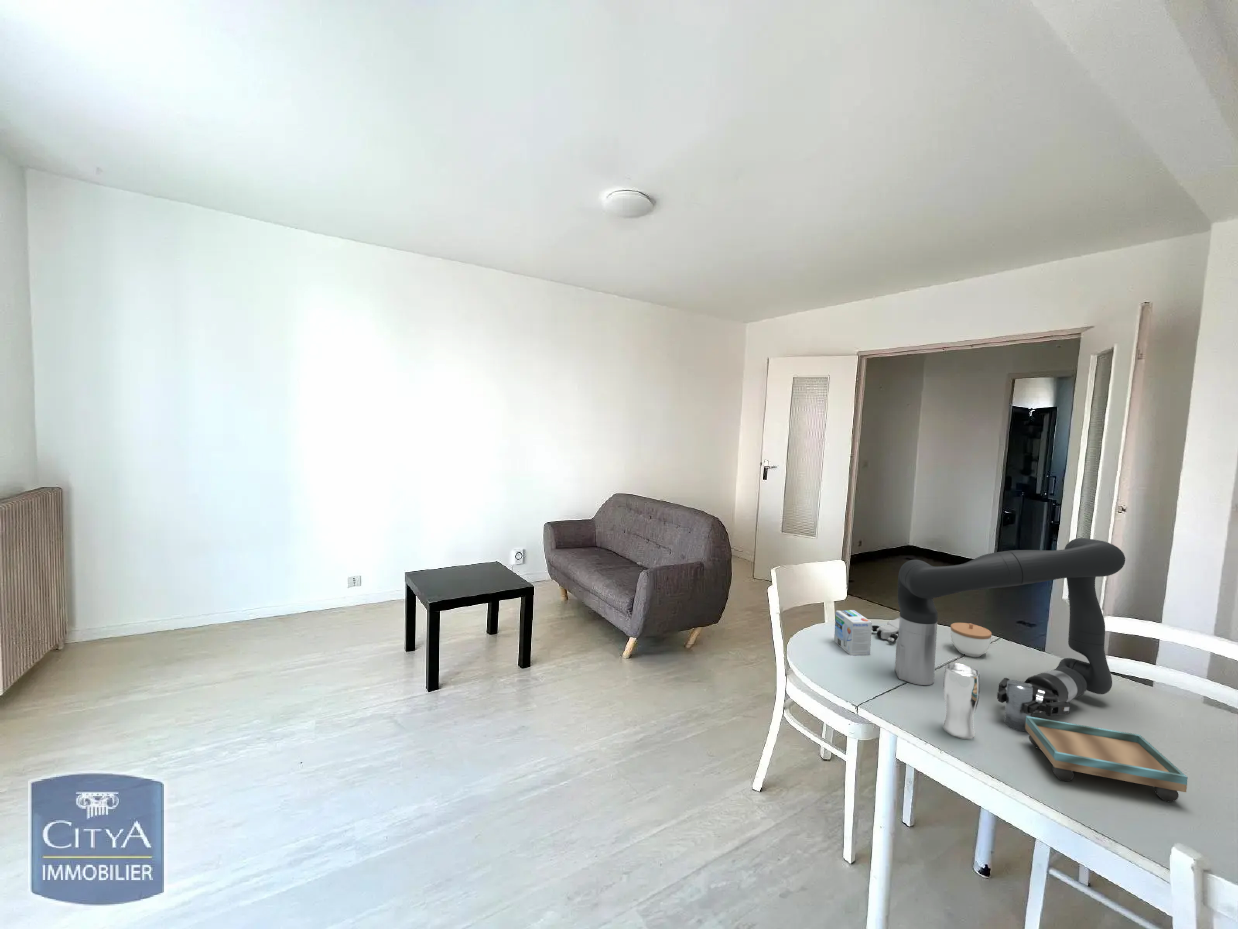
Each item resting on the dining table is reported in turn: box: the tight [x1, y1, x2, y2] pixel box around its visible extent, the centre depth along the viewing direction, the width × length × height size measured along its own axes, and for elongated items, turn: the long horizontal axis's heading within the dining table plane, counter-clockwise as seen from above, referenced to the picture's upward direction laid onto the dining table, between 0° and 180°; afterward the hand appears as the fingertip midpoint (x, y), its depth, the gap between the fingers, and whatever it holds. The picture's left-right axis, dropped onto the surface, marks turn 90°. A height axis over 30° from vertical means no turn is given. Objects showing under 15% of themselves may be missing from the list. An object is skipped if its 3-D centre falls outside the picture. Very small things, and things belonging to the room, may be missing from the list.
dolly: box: [1025, 716, 1188, 803], centre depth 104 cm, size 20×14×6 cm
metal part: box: [1004, 679, 1033, 732], centre depth 120 cm, size 5×5×10 cm
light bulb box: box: [833, 609, 873, 656], centre depth 162 cm, size 11×7×11 cm, turn 5°
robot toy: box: [871, 617, 900, 643], centre depth 172 cm, size 12×4×15 cm
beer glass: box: [942, 662, 981, 740], centre depth 117 cm, size 7×7×15 cm
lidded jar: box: [949, 622, 993, 658], centre depth 160 cm, size 11×11×9 cm
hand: (1012, 703), depth 119 cm, fingers closed on metal part, 4 cm apart
